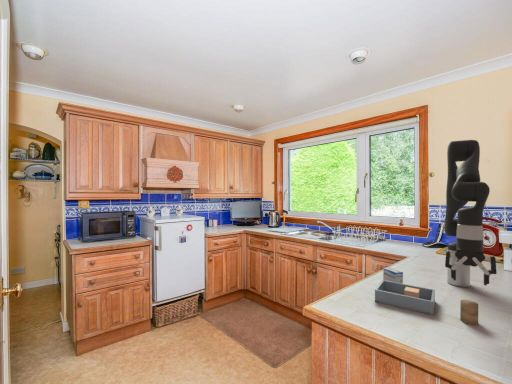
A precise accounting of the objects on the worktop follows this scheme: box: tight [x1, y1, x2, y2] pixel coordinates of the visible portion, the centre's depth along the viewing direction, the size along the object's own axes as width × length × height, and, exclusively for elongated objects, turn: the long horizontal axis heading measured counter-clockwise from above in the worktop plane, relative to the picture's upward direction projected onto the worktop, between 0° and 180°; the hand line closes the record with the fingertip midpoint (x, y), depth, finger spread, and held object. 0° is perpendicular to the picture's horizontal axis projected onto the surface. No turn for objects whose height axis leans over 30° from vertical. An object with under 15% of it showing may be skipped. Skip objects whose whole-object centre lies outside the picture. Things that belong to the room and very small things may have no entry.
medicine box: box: [382, 267, 404, 284], centre depth 128 cm, size 8×4×9 cm, turn 21°
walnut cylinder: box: [459, 299, 479, 326], centre depth 95 cm, size 5×5×7 cm
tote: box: [374, 279, 436, 316], centre depth 112 cm, size 16×21×5 cm
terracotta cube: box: [404, 287, 420, 298], centre depth 110 cm, size 5×5×5 cm
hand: (469, 282), depth 95 cm, fingers open, 8 cm apart
